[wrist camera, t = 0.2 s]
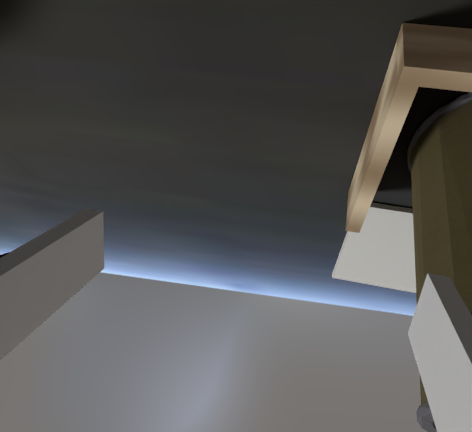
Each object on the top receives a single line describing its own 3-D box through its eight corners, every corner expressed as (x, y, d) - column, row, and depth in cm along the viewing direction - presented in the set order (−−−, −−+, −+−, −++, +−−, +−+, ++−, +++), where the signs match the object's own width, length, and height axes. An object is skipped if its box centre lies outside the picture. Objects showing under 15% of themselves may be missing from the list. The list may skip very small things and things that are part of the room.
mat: (358, 200, 33) (358, 205, 33) (541, 228, 31) (542, 233, 31) (332, 273, 43) (331, 277, 43) (467, 298, 41) (467, 302, 41)
